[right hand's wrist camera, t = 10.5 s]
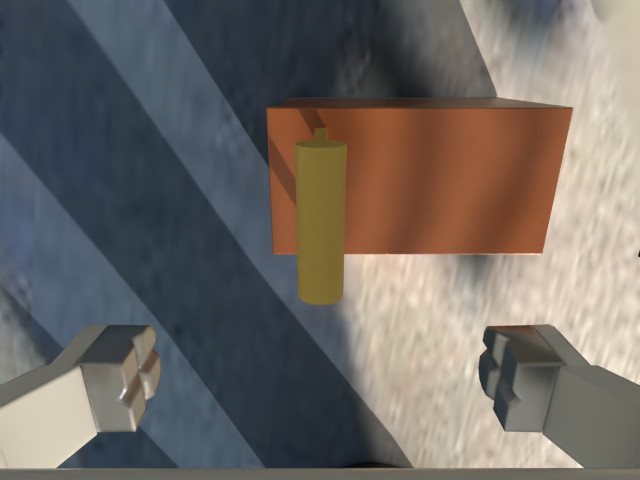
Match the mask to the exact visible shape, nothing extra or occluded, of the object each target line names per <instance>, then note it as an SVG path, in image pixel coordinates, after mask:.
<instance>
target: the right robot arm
mask: <svg viewBox="0 0 640 480" xmlns="http://www.w3.org/2000/svg"><path fill="white" fill-rule="evenodd" d="M156 342H157V336H156V332H155V329H154V328H153V327H152V326H149V325H89V326H86V327H85V328H84V329H83V330H82V331H81V332H80V333H79V334H78V335H77V336H76V337H75V339H74V340H73V341H72V342H71V343H70V344H69V345H68V346H67V347H66V348H65V349H64V350H63V351H62V352H61V353H60V354H59V356H58V357H57V358H56V359H55V360H54V361H53V362H52V363H51V364H50V365H45V366H40V367H38V368H36V369H34V370H32V371H30V372H28V373H25V374H23V375H21V376H19V377H17V378H15V379H13V380H11V381H9V382H6V383H4V384H2V385H0V480H640V385H638V384H636V383H634V382H631V381H629V380H627V379H625V378H623V377H621V376H619V375H617V374H615V373H612V372H610V371H608V370H606V369H604V368H602V367H600V366H595V365H590V364H589V363H588V362H587V361H586V360H585V359H584V358H583V357H582V356H581V354H580V353H579V352H578V351H577V350H576V349H575V348H574V347H573V346H572V345H571V344H570V343H569V342H568V341H567V340H566V338H565V337H564V336H563V335H562V334H561V333H560V332H559V331H558V330H557V329H556V328H555V327H554V326H552V325H549V324H544V325H519V326H487V327H486V329H485V331H484V336H483V342H484V344H485V346H486V347H487V349H486V350H485V351H484V352H483V353H482V354H481V355H480V360H479V367H478V368H479V379H480V382H481V386H482V388H483V390H484V392H485V394H486V396H488V397H489V398H491V399H492V400H494V407H493V410H494V412H495V414H496V416H497V418H498V419H499V421H500V423H501V425H502V427H503V429H504V431H511V432H543V435H544V436H546V437H547V438H548V439H549V440H551V441H552V442H553V443H554V444H556V445H557V446H558V447H559V448H560V449H562V450H563V451H564V452H565V453H567V454H568V455H569V456H570V457H571V458H573V459H574V460H575V461H576V462H578V463H579V464H580V465H581V466H583V467H584V468H56V467H58V466H59V465H60V464H61V463H63V462H64V461H65V460H66V459H67V458H69V457H70V456H71V455H72V454H74V453H75V452H76V451H77V450H78V449H80V448H81V447H82V446H83V445H85V444H86V443H87V442H88V441H90V440H91V439H92V438H93V437H94V436H96V435H97V432H128V431H136V429H137V427H138V425H139V423H140V421H141V419H142V418H143V416H144V414H145V412H146V410H147V407H146V400H148V399H149V398H151V397H152V396H154V394H155V392H156V390H157V388H158V386H159V382H160V378H161V359H160V355H159V354H158V353H157V352H156V351H155V350H154V349H153V347H154V346H155V344H156Z"/></svg>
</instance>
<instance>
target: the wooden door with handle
mask: <svg viewBox="0 0 640 480" xmlns="http://www.w3.org/2000/svg"><path fill="white" fill-rule="evenodd" d="M266 111H267V133H268V155H269V177H270V199H271V221H272V243H273V254H297V261H298V295H299V297H300V299H301V300H303V301H304V302H306V303H309V304H313V305H328V304H332V303H335V302H337V301H339V300H340V299H341V298H342V296H343V281H344V254H542V252H543V248H544V243H545V238H546V233H547V229H548V224H549V219H550V215H551V210H552V205H553V201H554V196H555V191H556V186H557V182H558V177H559V172H560V168H561V163H562V158H563V153H564V149H565V144H566V139H567V135H568V130H569V125H570V121H571V116H572V111H573V108H572V107H565V106H269V107H267V109H266Z"/></svg>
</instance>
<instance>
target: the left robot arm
mask: <svg viewBox="0 0 640 480" xmlns="http://www.w3.org/2000/svg"><path fill="white" fill-rule="evenodd" d="M638 256H639V257H640V251H639V255H638ZM346 468H397V467H394V466H390V465H384V464H360V465H354V466H350V467H346Z"/></svg>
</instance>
